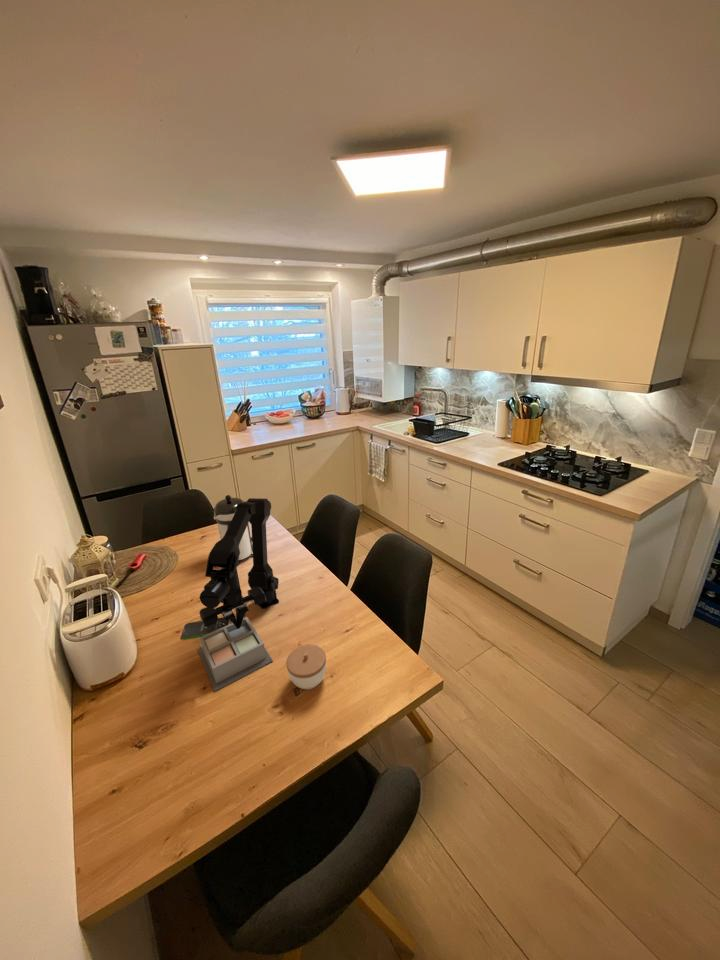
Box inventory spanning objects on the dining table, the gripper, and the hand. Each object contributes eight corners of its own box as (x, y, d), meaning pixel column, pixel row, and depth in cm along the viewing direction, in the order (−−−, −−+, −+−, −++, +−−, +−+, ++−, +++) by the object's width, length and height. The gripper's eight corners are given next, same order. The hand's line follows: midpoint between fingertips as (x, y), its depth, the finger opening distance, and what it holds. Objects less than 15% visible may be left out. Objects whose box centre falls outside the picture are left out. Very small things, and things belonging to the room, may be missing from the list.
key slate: (247, 632, 124) (245, 624, 123) (253, 643, 120) (251, 634, 119) (230, 640, 121) (228, 632, 120) (235, 651, 117) (233, 643, 116)
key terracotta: (231, 653, 115) (229, 645, 114) (237, 665, 111) (235, 656, 109) (212, 662, 112) (210, 654, 111) (218, 675, 108) (216, 666, 106)
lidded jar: (296, 703, 100) (292, 676, 97) (284, 674, 109) (280, 648, 106) (334, 686, 104) (331, 659, 101) (319, 659, 113) (316, 634, 110)
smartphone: (185, 622, 131) (230, 615, 133) (185, 625, 131) (231, 617, 133) (179, 638, 124) (227, 630, 126) (180, 641, 124) (228, 632, 126)
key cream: (225, 640, 120) (223, 631, 119) (230, 650, 116) (228, 642, 115) (206, 648, 117) (204, 640, 116) (211, 659, 113) (209, 651, 112)
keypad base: (250, 625, 128) (247, 611, 126) (272, 661, 113) (270, 646, 111) (197, 649, 119) (194, 635, 117) (214, 691, 105) (210, 676, 103)
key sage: (254, 643, 119) (252, 634, 117) (261, 654, 114) (259, 645, 113) (236, 651, 116) (234, 643, 114) (242, 663, 111) (240, 654, 110)
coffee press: (253, 566, 163) (242, 501, 152) (216, 567, 163) (202, 503, 153) (264, 545, 179) (254, 485, 168) (230, 546, 179) (218, 487, 169)
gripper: (250, 562, 124) (257, 602, 130) (190, 584, 115) (200, 626, 120) (263, 578, 116) (270, 620, 121) (199, 603, 106) (210, 648, 111)
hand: (238, 627), depth 119 cm, fingers closed
